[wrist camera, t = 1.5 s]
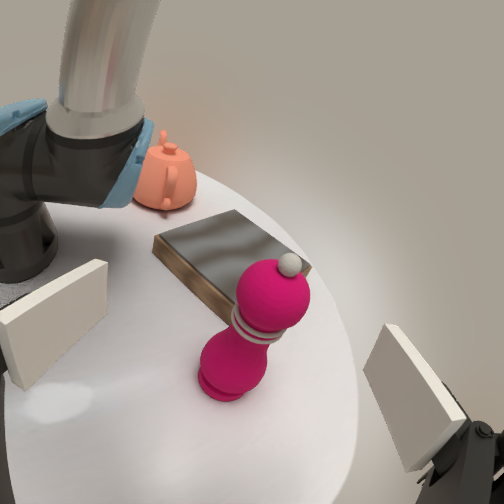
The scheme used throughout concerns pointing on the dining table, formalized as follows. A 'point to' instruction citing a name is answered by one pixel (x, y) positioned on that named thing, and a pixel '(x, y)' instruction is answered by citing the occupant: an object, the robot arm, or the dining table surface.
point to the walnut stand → (217, 256)
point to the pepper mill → (254, 326)
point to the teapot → (166, 177)
